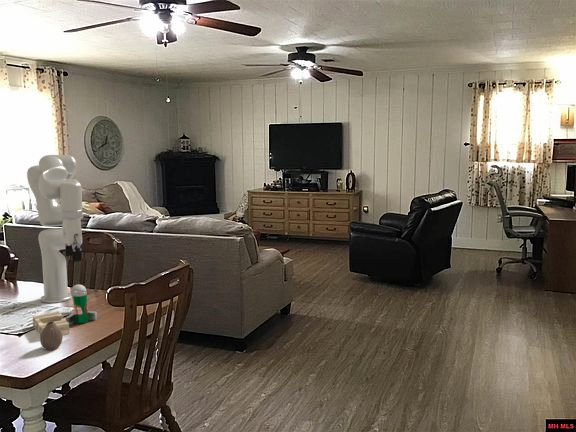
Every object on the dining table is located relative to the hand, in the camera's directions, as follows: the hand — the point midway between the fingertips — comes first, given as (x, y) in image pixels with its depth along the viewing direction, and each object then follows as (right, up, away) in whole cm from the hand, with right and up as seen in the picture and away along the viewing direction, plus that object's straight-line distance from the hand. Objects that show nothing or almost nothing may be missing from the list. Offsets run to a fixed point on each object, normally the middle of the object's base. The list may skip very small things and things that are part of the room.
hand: (73, 258), depth 195 cm
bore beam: (-5, -26, -7) cm, 27 cm away
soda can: (+3, -25, +1) cm, 25 cm away
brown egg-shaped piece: (+3, -29, -23) cm, 37 cm away
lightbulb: (-4, -23, +15) cm, 28 cm away
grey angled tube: (+1, -24, +4) cm, 25 cm away
